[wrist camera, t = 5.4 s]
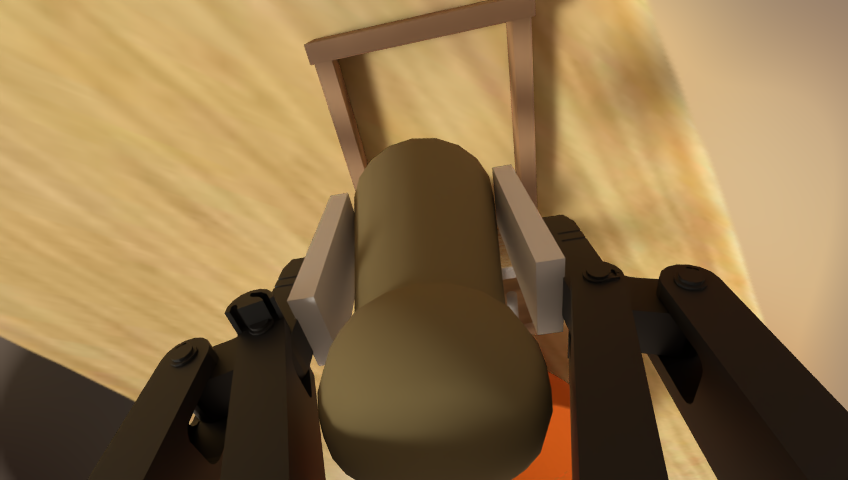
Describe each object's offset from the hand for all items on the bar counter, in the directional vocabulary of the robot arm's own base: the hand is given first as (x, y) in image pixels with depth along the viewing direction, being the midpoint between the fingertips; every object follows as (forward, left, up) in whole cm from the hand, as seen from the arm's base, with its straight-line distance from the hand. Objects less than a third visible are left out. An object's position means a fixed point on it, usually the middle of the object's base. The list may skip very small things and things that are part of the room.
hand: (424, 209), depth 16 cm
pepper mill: (0, 0, -1) cm, 1 cm away
